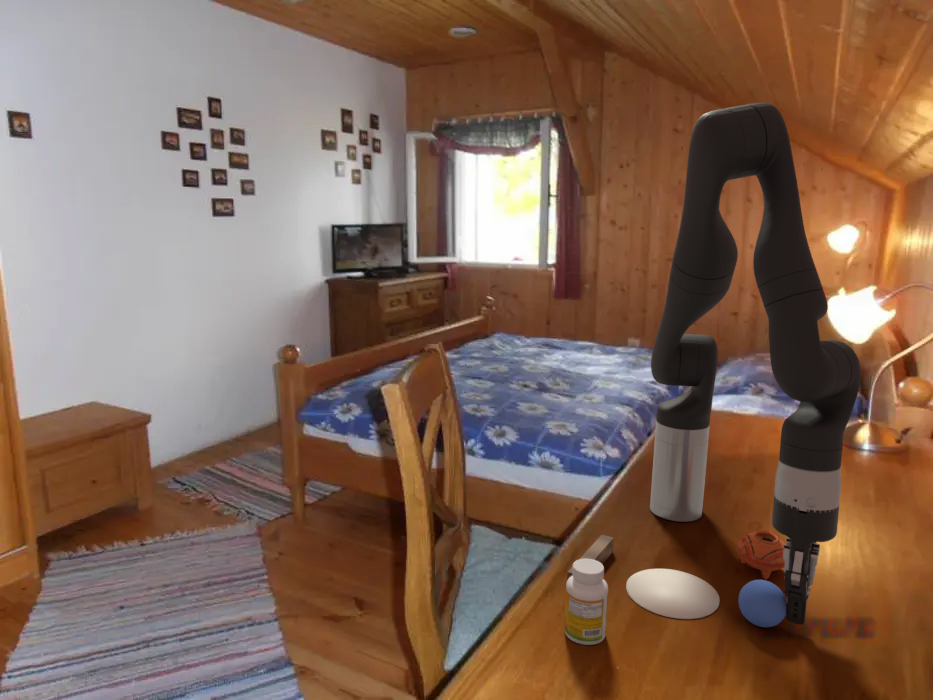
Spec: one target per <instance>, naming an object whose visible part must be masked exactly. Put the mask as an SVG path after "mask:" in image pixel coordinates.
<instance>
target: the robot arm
mask: <svg viewBox="0 0 933 700" xmlns="http://www.w3.org/2000/svg"><path fill="white" fill-rule="evenodd" d="M787 128H788V127H787V125H786V122H785V120H784V117H783V115H782V114H781V112H780V110H779V109H778V108H777V107H776V106H775V105H774V104H772V103H770V102H764V101H763V102H754V103H748V104H742V105H737V106H730V107H726V108H719V109H715V110H711V111H708V112H706V113H703V114H702V115H701V116H700V117H699V118H698V119H697V120H696V122H695V124H694V127H693V130H692V132H691V136H690V140H689V141H690V142H689V147H688V148H689V149H688V156H687V164H686V166H687V167H686V175H685V176H686V177H685V188H684V197H683V198H684V199H683V207H682V213H681V219H680V225H679V228H678V235H677V239H676V244H675V247H674V251H673V256H672V261H671V267H670V272H669V277H668V284H667V292H666V296H665V297H666V298H665V305H664V309H663V313H662V316H661V319H660V323H659V327H658V330H657V333H656V337H655V340H654V344H653V347H652V353H651V359H650V360H651V361H650V369H651V370H650V371H651V375H652V378H653V380H654V381H655V382H656V383H658V384H661V385H664V386H670V387H671V386H673V387H674V386H676V387H691V388H690V389H689V390H688V391H687V392H685V393H683V394H681V395H680V396H677V397H674V398H672V399H667V400H665V401H663V402H661V403H659V404H658V406H657V408H656V415H655V417H656V418H655V431H654V446H653V460H652V461H653V462H652V473H651V474H652V475H651V488H650V490H651V491H650V501H649V509H650V511H651V512H652V513H653V514H654V515H655V516H657V517H659V518H663V519H665V520H669V521H673V522H681V523H682V522H684V523H685V522H686V523H687V522H695V521H697V520H699V519H701V517H702V516H703V505H704V504H703V503H704V495H705V494H704V493H705V482H706V474H707V473H706V471H707V459H708V449H709V437H710V436H709V435H710V423H711V414H712V408H713V407H712V406H713V397H714V389H715V385H716V384H715V382H716V376H717V371H718V362H719V361H718V360H719V350H718V344H717V341H716V339H715V338H714V337H713V336H712V335H709V334H700V333H699V334H697V333H696V334H693V333H686V331H687V330H688V329H689V328H690V327H691V326H692V325H693V324H695V322H697V321H699V319H701V318H702V317H703V316H705V315H706V314H707V313H708V312H710V311H711V310H712V309H714V308H715V307H716V306H717V305H718V304H719V303H720V302H721V301H722V300H723V299H724V298H725V296H726V295H727V293H728V292H729V289H730V287H731V285H732V280H733V277H734V274H735V273H734V272H735V271H736V270H735V269H736V267H737V263H738V258H739V257H738V256H739V251H738V246H737V242H736V241H735V238H734V236H733V234H732V232H731V231H730V228H729V227H728V225H727V224H726V222H725V220H724V218H723V216H722V214H721V211H720V200H721V195H722V192H723V188H724V186H725V184H726V182H728V181H731V180H736V179H737V180H739V179H741V178H747V177H753V176H755V177H756V178H757V179H758V182H759V185H760V188H761V192H762V197H763V213H762V218H761V223H760V226H759V227H760V228H759V232H758V234H757V238H756V242H755V247H754V250H753V251H754V252H753V266H752V267H753V273H754V274H753V275H754V279H755V282H756V286H757V288H758V292H759V295H760V298H761V301H762V304H763V308H764V310H765V313H766V315H767V318H768V341H769V343H768V345H769V358H770V366H771V367H770V368H771V371H772V375H773V377H774V380H775V381H776V383H777V385H778V387H779V388H780V389H781V391H782V392H783V393H784V394H785V395H786V396H787V397H789V398H791V399H793V400H795V401H797V402H799V404H798V407H797V408H796V410H795V411H794V412H793V413H792V414H790V415H789V416H787V417H786V418H785V419H784V421H783V423H782V426H781V432H780V442H779V443H780V447H779V457H778V464H777V468H776V472H775V479H774V480H775V481H774V490H773V502H772V503H773V505H772V517H771V524H772V527H773V528H774V529H775V530H776V531H777V533H779V534H781V535H784V536H785V537H786V540H785V544H786V545H784V551H783V559H784V560H785V566H784V568H783V569H784V570H783V579H784V593H783V594H784V596H785V598H787V599H786V601H787V612H786V615H785V619H786V620H787V621H788V622H789V623H794V624H797V625H801V626H802V625H804V624H805V621H806V618H807V617H806V615H807V606H808V605H807V603H808V599H809V598H810V592H811V586H813V585H814V580H815V575H816V570H817V569H816V568H817V566H818V565H817V564H818V560H819V559H818V558H819V555H820V549H821V544H820V543H826V542H829V541H832V540H833V539H835V538H836V536H837V533H838V524H839V515H840V514H839V513H840V502H841V493H842V492H841V491H842V476H841V475H842V474H841V473H842V472H841V471H842V470H841V469H842V468H841V466H842V458H843V445H844V433H845V431H846V428H847V426H848V423H849V422H850V418H851V416H852V412H853V410H854V407H855V403H856V400H857V397H858V395H859V391H860V386H861V379H862V370H861V369H862V368H861V364H860V359H859V358H858V356H857V353H856V352H855V350H853V348H852V347H851V346H850V345H848V344H847V343H845V342H842V341H841V340H835V339H827V340H821V339H820V333H819V331H820V330H819V324H818V321H819V320H820V319H822V318H824V316H826V314H827V312H828V307H829V306H828V301H827V297H826V294H825V291H824V287H823V284H822V281H821V279H820V275H819V273H818V270H817V266H816V265H815V262H814V259H813V257H812V253H811V249H810V246H809V242H808V238H807V234H806V231H805V230H806V229H805V225H804V220H803V219H804V218H803V213H802V206H801V200H800V199H801V198H800V192H799V187H798V186H799V185H798V179H797V174H796V169H795V162H794V157H793V152H792V145H791V144H792V143H791V140H790V135H789V131H788V129H787Z"/></svg>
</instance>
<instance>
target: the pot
mask: <svg viewBox="0 0 933 700" xmlns="http://www.w3.org/2000/svg"><path fill="white" fill-rule="evenodd" d="M784 545H786V542H784V541H783V540H781V539H780V537H779V536H778V535H776V534H775V533H772V532H771V531H769V530H765V529H758V530H757V529H756V530H755V531H754V532H750V533H747V534H745V535H743V536H742V537H741V538H739V540H738V541H737V542H736V551H737V553H738V555H739V556H740V560H741V562H742V564H743V563H744V564H743V565H746V563H747V564H748V565H749V566H751V567H752V568H754V569H757V570H759V571H760V575H761V577H762V579H763V578H764V579H763V580H768V579H769V578H770V576H771V574H772V572H774V571H779V570H782V569H784V566H785V560H784V559H783V551H784Z"/></svg>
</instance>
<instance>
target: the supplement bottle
mask: <svg viewBox="0 0 933 700" xmlns="http://www.w3.org/2000/svg"><path fill="white" fill-rule="evenodd" d="M572 566H573V568H572V576H571V577H570V578H569V579H568V580H567V579H566V584H565V585H566V586H565V605H564V606H565V607H564V608H565V609H564V626H563V627H564V634H565V635H566V637H567V638H568V639H569V640H571V641H572V642H573V643H576V644H578V645H585V646H592V645H597V644H600V643H602V642H603V640H605V637H606V635H607V622H608V621H607V620H608V605H609V604H608V603H609V601H608V599H609V585H608V582H607V581H606V580H605V579H604V577H605V567H604V565H603V564H601V563H600V562H599V561H596V560H593V559H580V558H578V559H576V560H575V561H574V562H573V563H572Z"/></svg>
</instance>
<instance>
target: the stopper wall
mask: <svg viewBox="0 0 933 700" xmlns="http://www.w3.org/2000/svg"><path fill="white" fill-rule="evenodd" d="M614 539H615V538H614V537H612V536H608V535H604V534H601V535H600V536H599V537H598V538H597V539H596V540H595V541H594V542H593V544H591V546H589V548H588V549H587V550H586V551H585V552H584V553H583V554H582V555H581V557H580V558H579V559H593V560H596V561H599V562H600V563H601V564H602V565H603V564H604V563H605V562H606V561H607V560H608V558H609V557H610V556H611V554H613V552H614ZM572 568H573V565H572V566H571V567H570V568H569V570H567V573H566V575H567V576H566V581H567V580H568V579H569V578H570V577H571V576H572Z"/></svg>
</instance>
